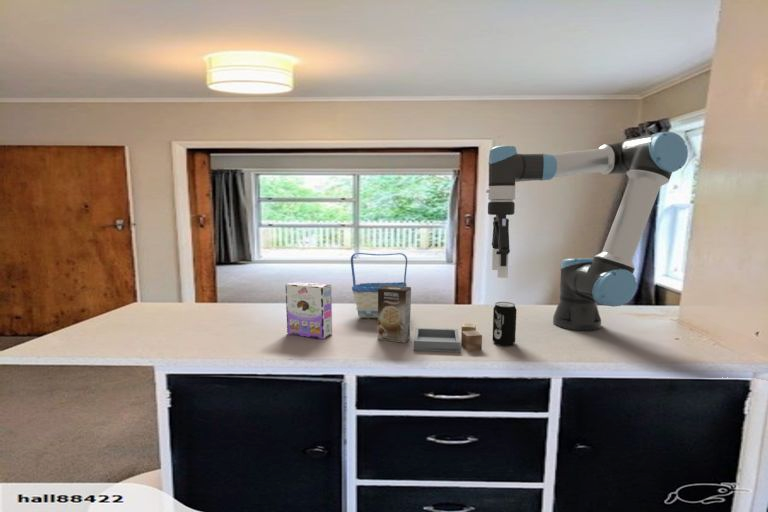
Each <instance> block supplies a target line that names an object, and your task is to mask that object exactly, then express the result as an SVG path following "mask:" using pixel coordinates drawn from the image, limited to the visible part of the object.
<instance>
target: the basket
mask: <svg viewBox="0 0 768 512" xmlns="http://www.w3.org/2000/svg"><path fill="white" fill-rule="evenodd" d="M355 255H367V256H368V255H369V256H394V255H396V256H397V255H402V256H403V257H404V258H405V265H404V278H403V281H402V282H395V281H394V282H367V283H366V282H365V283H359V284H358V283H357V282H356V274H355V267H354V266H355V265H354V257H355ZM350 264H351V266H350V267H351V274H352V275H351V276H352V286H351V290H352V294H353V298H354V299H353V300H354V301H355V305H356V310H357V314H358V317H359V319H360V318H361V319H363V318H364V319H365V318H369V319H370V318H371V319H374V318H375V319H376V318H377V319H378V288H380V287H381V286H383V285H393V286H404V287H408V286H407V283H406V282H407V281H406V280H407V277H406V276H407V267H408V257H407V255H406V254H404V253H402V252H397V253H368V252H367V253H365V252H356V253H353V254H352V255H351V257H350ZM356 283H357V284H356Z"/></svg>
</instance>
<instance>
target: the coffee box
mask: <svg viewBox="0 0 768 512" xmlns="http://www.w3.org/2000/svg"><path fill="white" fill-rule="evenodd" d="M411 301H412V288H411V286H406V287H404V286H393V285H383V286H381V287H380V288H378V318H377V337H376V338H377V340H379V339H380V340H382V341H387V340H388V341H390V342H397V343H398V342H399V343H406V342H407V341H408V339H409V338H410V337H411V313H412V312H411V305H412V304H411Z"/></svg>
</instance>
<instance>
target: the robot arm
mask: <svg viewBox="0 0 768 512" xmlns="http://www.w3.org/2000/svg"><path fill="white" fill-rule="evenodd" d="M688 150H689V149H688V146H687V145H686V142H685V140H684V138H683V137H682V136H681V135H680V134H678V133H677V132H676V133H675V132H672V131H664V132H659V131H658V132H655V133H653V134H646V135H642V136H637V137H636V136H635V137H632V138H629V139H628V138H627V139H624V140H622V141H618V142H613V143H609V144H603V145H601V146H599V147H598V148H596V149H595V148H593V149H584V150H575V151H565V152H559V153H549V154H547V153H517V152H518V151H517V147H516V146H513V145H499V146H493V147H490V149H489V152H488V153H489V155H488V163H487V164H488V189H485V193H487V194H488V196H487V197H488V203H487V214H488V215H490V216H493V218H492V219H493V221H492V227H493V229H492V240H491V246H492V252H491V254H492V258H491V259H492V262H491V271H497V278H498V279H499V278H501V279H502V278H503V279H504V278H507V279H508V277H509V276H508V275H509V254H510V252H511V248H510V232H509V231H510V230H509V222H510V219H509V218H507V216H512V215H514V214H515V209H516V208H515V202H514V201H515V199H516V183H519V182H528V181H529V182H530V181H550V180H552V179H554V178H560V177H569V176H576V175H586V174H593V173H600V174H601V175H612V174H613V175H615V174H616V175H618V174H619V175H627V177H628V183H627V186H626V189H625V190H624V193H623V196H622V199H621V200H620V201H621V202H620V204H619V206H618V210H617V212H616V215H615V217H614V220H613V222H612V225H611V227H610V230H609V233H608V236H607V238H606V240H605V243H604V245H603V248H602V251H601V252H600V253H598V254H595V255H594V256H593V257H594V258H590V257H588V258H587V257H585V258H584V257H583V258H580V257H579V258H565V259H563V260H562V261H561V267H560V281H559V282H560V284H559V285H560V286H559V289H560V290H559V302H558V304H557V305H556V309H555V311H554V313H553V317H552V323H553V324H554V325H555V326H557V327H560V328H564V329H568V330H574V331H583V332H584V331H585V332H586V331H597V330H599V329H601V328H602V319H601V315H600V311H599V307H598V304H600V305H602V306H608V307H620V306H622V305H624V304H627V303H628V302H629V301H631V299H632V298H633V297H634V295H635V293H636V291H637V287H638V285H637V284H638V282H637V281H636V279H637V278H636V277H635V275H634V272H635V269H636V267H635V265H634V264H633V259H634V257H635V253H636V251H637V249H638V246H639V243H640V240H641V239H642V235H643V233H644V230H645V228H646V226H647V222H648V220H649V217H650V215H651V212H652V209H653V208H654V204H655V202H656V199H657V197H658V193H659V192H660V188H661V187H662V186H664V185H666V184H668V183H669V182H670V179H671V177H672V174H673V173H674V172H675V173H676V172H677V171H679V170H681V169H682V168H683V167H684V166H685V165H686V162H687V160H688V155H689V151H688Z"/></svg>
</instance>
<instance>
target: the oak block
mask: <svg viewBox="0 0 768 512" xmlns="http://www.w3.org/2000/svg"><path fill="white" fill-rule="evenodd" d="M462 331H477V324H476V323H469V322H463V323H462V325H461V337H460V338H461V339H460V340H462Z"/></svg>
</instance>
